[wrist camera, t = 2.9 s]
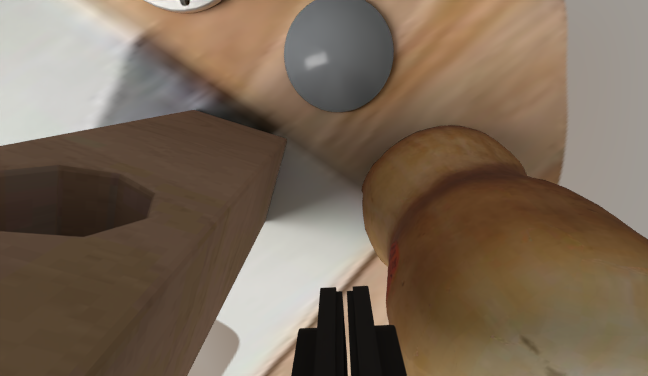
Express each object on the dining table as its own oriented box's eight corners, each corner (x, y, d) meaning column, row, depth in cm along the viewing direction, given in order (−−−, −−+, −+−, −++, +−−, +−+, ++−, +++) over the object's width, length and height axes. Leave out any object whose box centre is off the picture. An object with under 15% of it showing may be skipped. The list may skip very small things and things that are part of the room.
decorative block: (264, 222, 35) (-28, 805, 7) (177, 197, 35) (-547, 720, 6) (288, 138, 32) (-63, 552, 4) (192, 108, 32) (-1084, 335, 3)
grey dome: (278, 1, 28) (277, -1, 28) (391, -10, 28) (392, -12, 27) (291, 115, 32) (290, 115, 31) (392, 107, 31) (394, 107, 30)
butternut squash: (350, 129, 32) (396, 264, 8) (488, 109, 31) (1007, 197, 7) (365, 251, 36) (423, 576, 12) (486, 237, 35) (807, 563, 11)
